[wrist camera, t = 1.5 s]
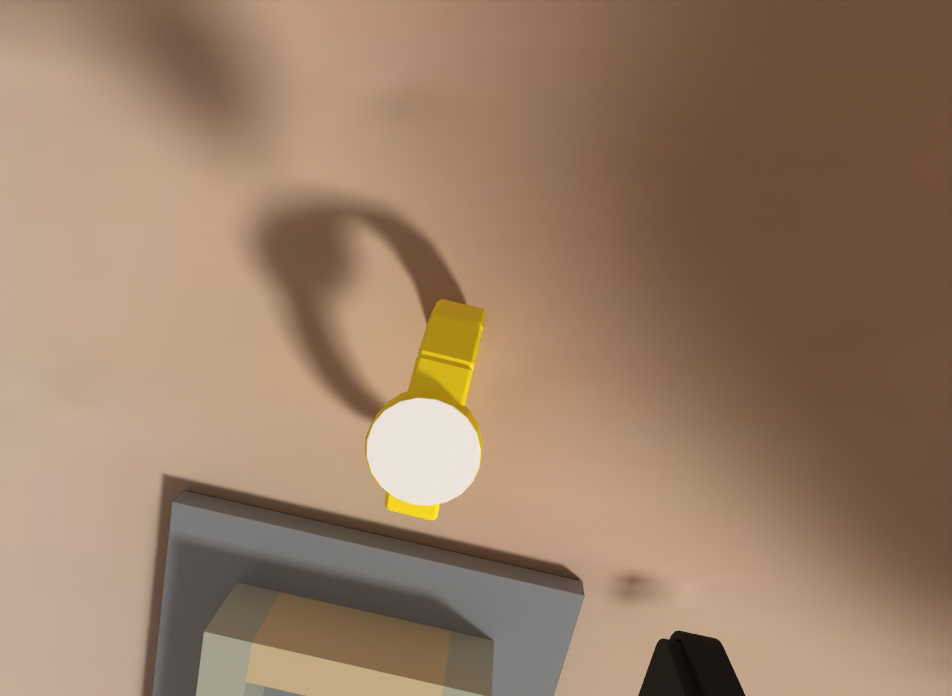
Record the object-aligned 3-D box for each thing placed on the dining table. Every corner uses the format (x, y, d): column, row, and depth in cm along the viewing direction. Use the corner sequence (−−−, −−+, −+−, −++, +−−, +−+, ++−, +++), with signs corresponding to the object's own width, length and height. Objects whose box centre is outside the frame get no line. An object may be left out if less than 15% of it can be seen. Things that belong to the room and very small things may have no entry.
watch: (424, 283, 21) (392, 308, 15) (511, 304, 21) (512, 338, 15) (385, 459, 22) (341, 547, 16) (466, 479, 22) (452, 574, 16)
